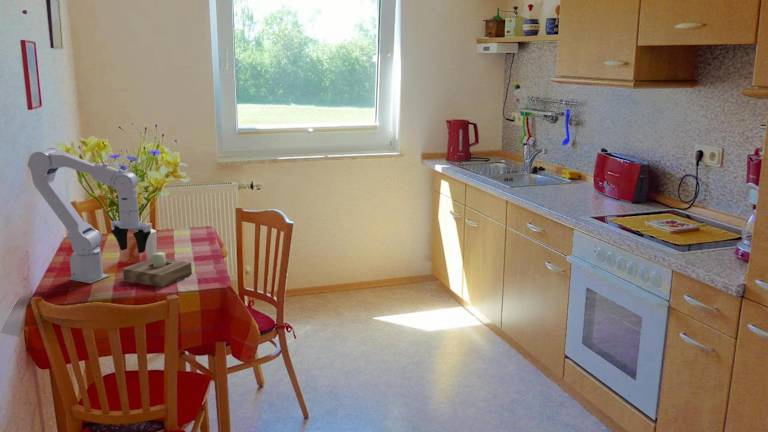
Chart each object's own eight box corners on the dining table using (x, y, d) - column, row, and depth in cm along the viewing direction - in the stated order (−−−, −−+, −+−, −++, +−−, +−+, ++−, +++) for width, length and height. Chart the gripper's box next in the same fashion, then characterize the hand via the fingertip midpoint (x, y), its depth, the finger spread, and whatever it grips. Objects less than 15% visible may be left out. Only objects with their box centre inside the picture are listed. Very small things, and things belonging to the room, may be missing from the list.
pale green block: (151, 273, 210) (149, 254, 209) (159, 270, 214) (158, 251, 212) (160, 275, 209) (159, 256, 207) (169, 272, 212) (167, 253, 211)
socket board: (123, 280, 208) (122, 268, 207) (154, 267, 220) (153, 256, 219) (162, 287, 201) (161, 275, 200) (191, 273, 214) (191, 262, 213)
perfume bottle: (160, 263, 225) (157, 221, 222) (157, 267, 221) (153, 225, 217) (147, 263, 225) (144, 222, 221) (143, 267, 221) (139, 225, 217)
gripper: (102, 210, 203) (106, 251, 206) (136, 215, 198) (140, 256, 201) (119, 206, 209) (123, 245, 213) (153, 210, 204) (156, 251, 207)
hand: (132, 250), depth 207 cm, fingers open, 7 cm apart
